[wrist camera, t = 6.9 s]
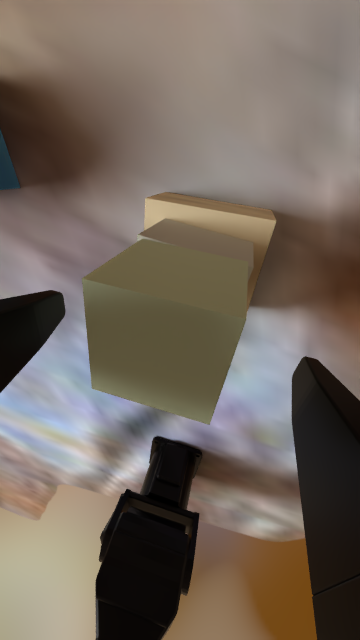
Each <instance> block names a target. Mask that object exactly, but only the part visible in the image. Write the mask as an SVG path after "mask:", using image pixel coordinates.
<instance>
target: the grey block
mask: <svg viewBox="0 0 360 640" xmlns="http://www.w3.org/2000/svg"><path fill="white" fill-rule="evenodd" d="M141 239H147V240H151V241H156V242H160V243H165V244H170V245H174V246H179V247H183V248H188V249H193V250H197V251H202V252H206V253H211V254H216V255H220V256H225V257H229V258H234V259H239V260H243V261H248V280H249V278H250V275H251V273H252V270H253V268H254V263H253V242H250V241H247V240H243V239H239V238H236V237H232V236H228V235H225V234H221V233H217V232H214V231H210V230H206V229H203V228H199V227H195V226H192V225H188V224H185V223H181V222H177V221H174V220H170V219H166V218H165V219H163V220H161V221H160V222H158V223H156V224H155V225H153V226H151V227H150V228H148V229H146V230H145V231H143V232H141V233H140V234H138V236H137V242H138V241H140V240H141Z"/></svg>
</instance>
